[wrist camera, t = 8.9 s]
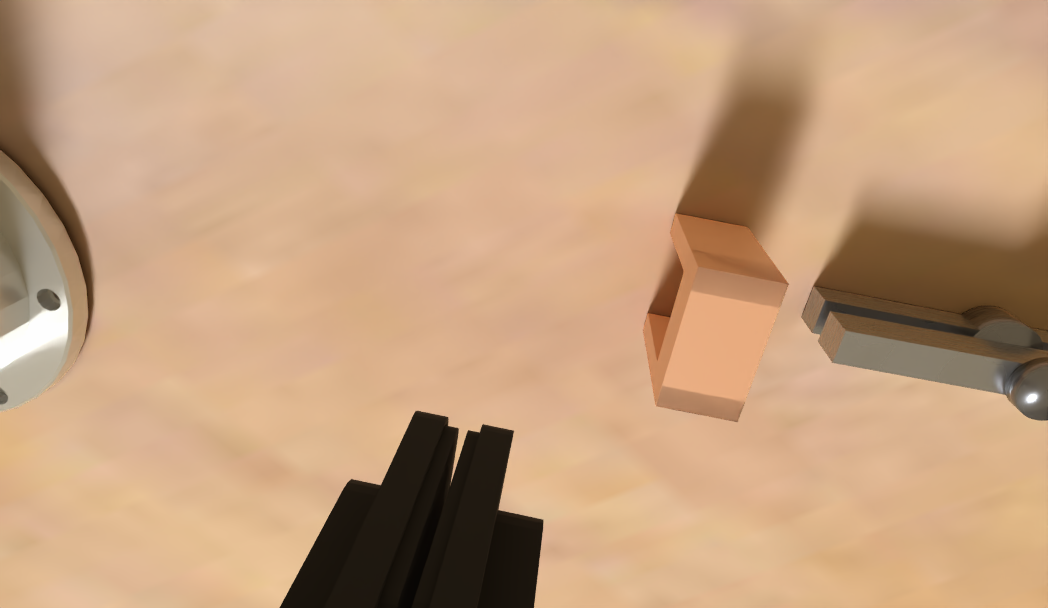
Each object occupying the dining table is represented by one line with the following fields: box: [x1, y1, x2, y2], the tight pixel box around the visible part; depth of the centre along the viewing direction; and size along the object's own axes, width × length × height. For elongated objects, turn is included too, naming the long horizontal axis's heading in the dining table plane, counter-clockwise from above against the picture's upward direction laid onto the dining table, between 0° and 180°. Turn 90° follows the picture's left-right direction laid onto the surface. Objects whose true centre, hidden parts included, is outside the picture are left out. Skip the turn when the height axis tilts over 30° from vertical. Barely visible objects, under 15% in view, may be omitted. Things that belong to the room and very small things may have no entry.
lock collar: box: [643, 213, 789, 422], centre depth 20 cm, size 2×4×5 cm, turn 170°
